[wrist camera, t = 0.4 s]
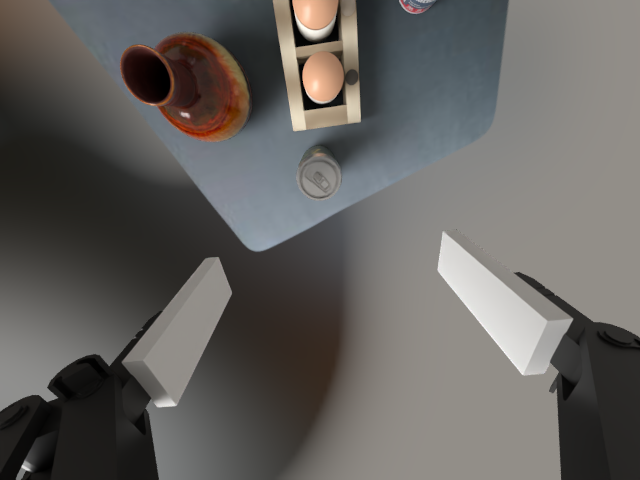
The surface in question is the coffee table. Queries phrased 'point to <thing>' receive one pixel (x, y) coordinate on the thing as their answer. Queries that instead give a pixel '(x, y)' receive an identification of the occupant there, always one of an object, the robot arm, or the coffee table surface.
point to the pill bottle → (416, 5)
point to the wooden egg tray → (299, 55)
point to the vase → (191, 85)
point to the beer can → (319, 174)
